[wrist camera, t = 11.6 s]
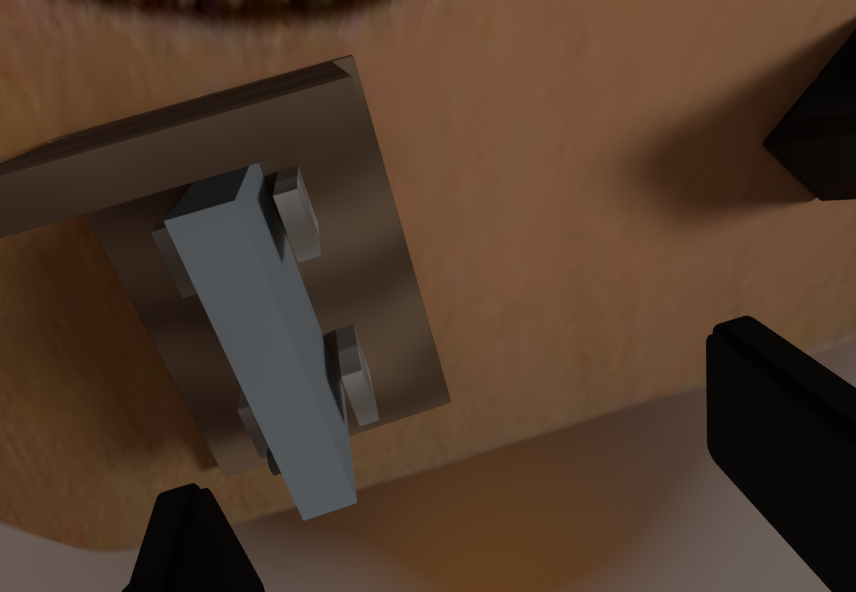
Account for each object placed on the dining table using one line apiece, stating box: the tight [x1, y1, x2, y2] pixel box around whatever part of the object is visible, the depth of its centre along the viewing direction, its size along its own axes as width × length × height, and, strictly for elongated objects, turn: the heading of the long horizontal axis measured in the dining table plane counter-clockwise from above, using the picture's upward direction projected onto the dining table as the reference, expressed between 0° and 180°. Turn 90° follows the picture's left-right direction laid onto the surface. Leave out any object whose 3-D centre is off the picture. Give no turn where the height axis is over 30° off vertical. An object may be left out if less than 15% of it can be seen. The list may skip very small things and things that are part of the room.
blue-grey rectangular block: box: [164, 163, 357, 520], centre depth 26 cm, size 14×3×9 cm, turn 14°
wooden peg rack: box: [0, 55, 451, 477], centre depth 26 cm, size 20×14×14 cm
